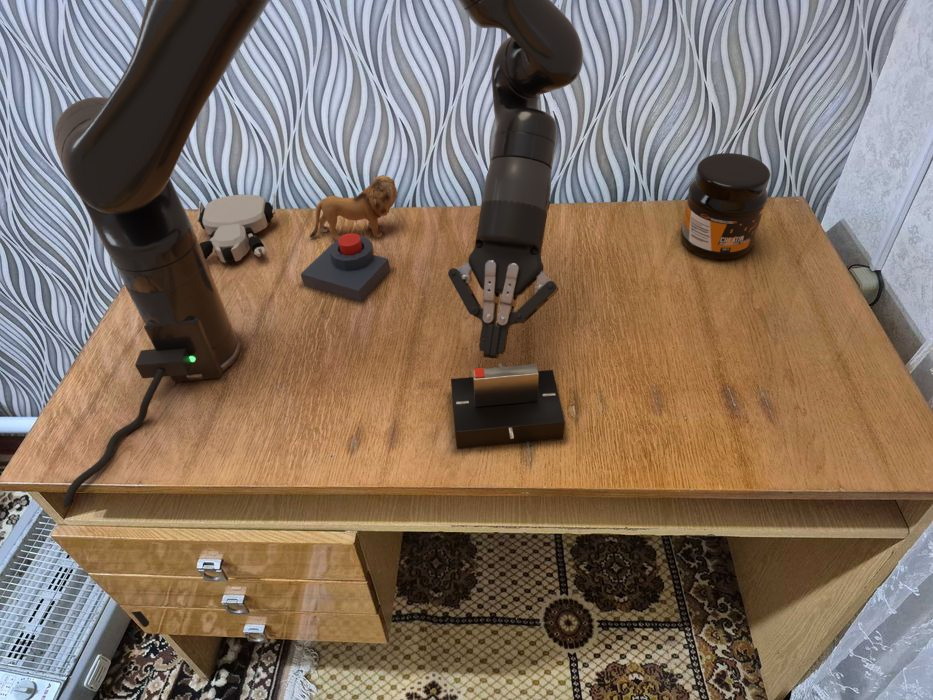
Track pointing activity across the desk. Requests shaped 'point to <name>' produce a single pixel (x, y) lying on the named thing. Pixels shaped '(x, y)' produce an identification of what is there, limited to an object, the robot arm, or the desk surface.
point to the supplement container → (725, 205)
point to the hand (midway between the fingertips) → (491, 357)
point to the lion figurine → (358, 206)
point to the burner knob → (505, 385)
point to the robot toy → (235, 225)
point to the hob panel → (507, 416)
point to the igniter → (346, 271)
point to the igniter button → (350, 244)
